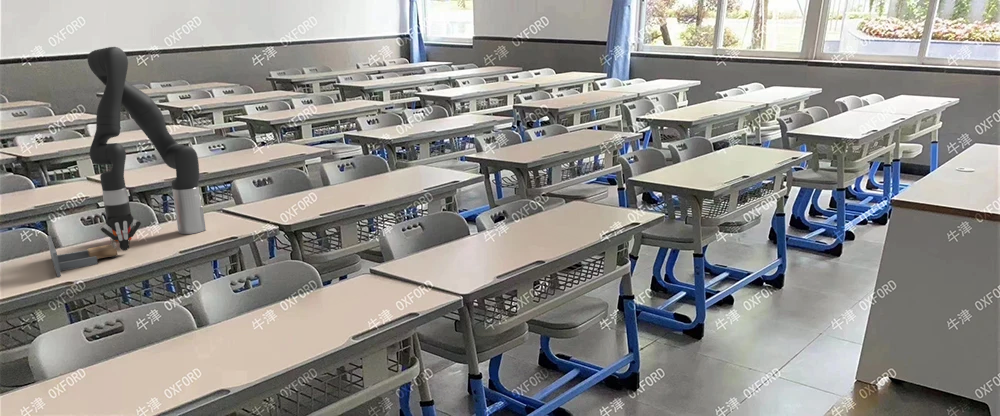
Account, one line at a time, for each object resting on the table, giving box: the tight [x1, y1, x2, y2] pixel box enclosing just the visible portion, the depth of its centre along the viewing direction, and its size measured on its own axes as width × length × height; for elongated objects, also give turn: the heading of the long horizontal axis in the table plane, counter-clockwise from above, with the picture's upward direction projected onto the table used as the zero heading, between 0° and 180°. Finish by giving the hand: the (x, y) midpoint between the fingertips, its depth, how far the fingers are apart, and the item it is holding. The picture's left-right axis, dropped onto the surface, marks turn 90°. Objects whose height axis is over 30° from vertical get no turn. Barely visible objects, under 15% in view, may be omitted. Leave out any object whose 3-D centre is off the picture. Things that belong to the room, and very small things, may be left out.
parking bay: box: [46, 235, 98, 278], centre depth 235 cm, size 12×24×8 cm, turn 36°
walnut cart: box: [87, 238, 118, 261], centre depth 241 cm, size 8×6×6 cm
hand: (124, 249), depth 245 cm, fingers closed
